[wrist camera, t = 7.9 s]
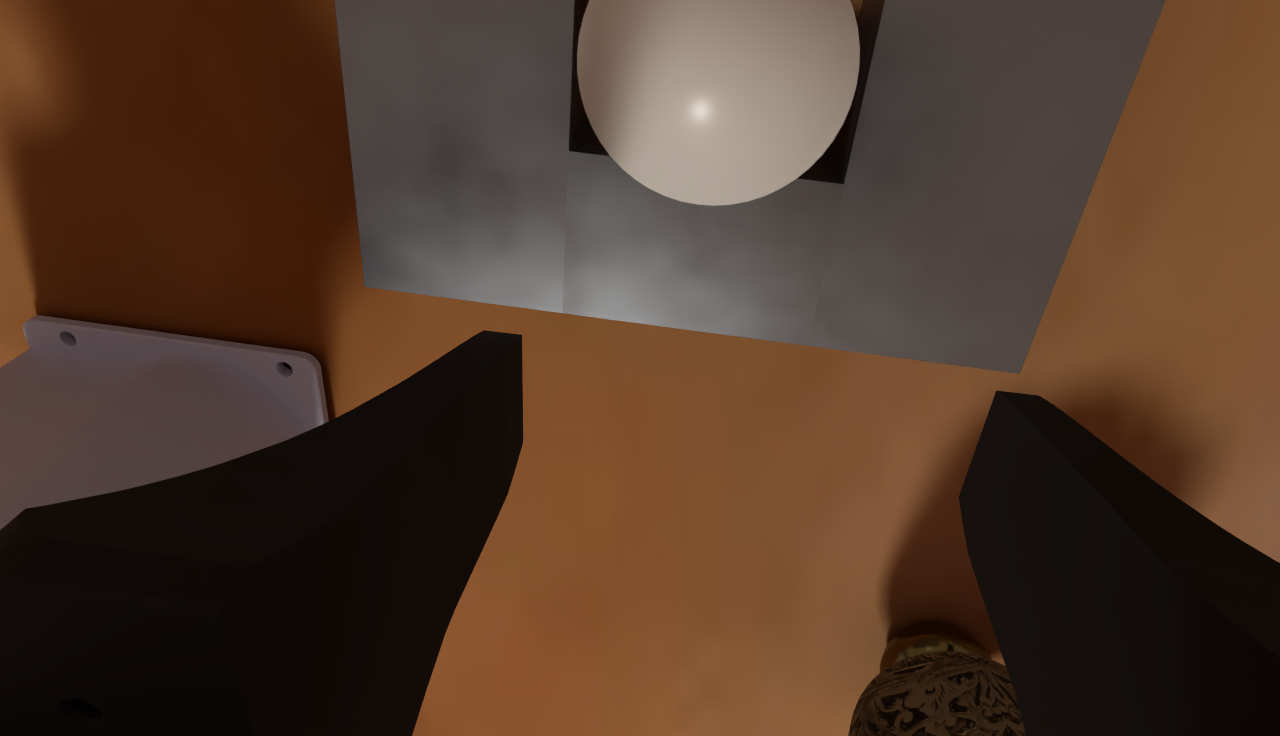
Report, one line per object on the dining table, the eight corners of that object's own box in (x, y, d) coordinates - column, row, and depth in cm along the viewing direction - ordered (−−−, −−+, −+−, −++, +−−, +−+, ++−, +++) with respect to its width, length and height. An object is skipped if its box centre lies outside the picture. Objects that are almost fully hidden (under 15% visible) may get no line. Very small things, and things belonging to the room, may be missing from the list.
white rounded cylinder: (625, 97, 20) (570, 188, 14) (642, -109, 18) (584, -108, 12) (804, 119, 20) (826, 221, 14) (844, -88, 17) (892, -74, 11)
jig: (408, 241, 23) (364, 286, 20) (359, -447, 15) (280, -514, 13) (988, 316, 22) (1019, 373, 19) (1232, -381, 14) (1336, -439, 12)
